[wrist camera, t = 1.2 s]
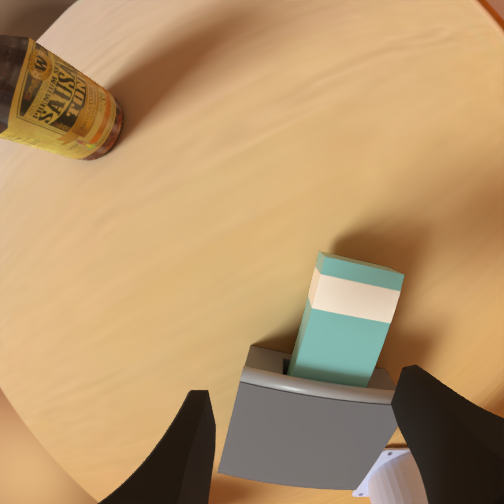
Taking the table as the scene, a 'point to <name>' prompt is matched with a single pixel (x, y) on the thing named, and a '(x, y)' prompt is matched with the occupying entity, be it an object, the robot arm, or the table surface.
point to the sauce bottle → (53, 103)
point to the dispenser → (305, 426)
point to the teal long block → (345, 320)
